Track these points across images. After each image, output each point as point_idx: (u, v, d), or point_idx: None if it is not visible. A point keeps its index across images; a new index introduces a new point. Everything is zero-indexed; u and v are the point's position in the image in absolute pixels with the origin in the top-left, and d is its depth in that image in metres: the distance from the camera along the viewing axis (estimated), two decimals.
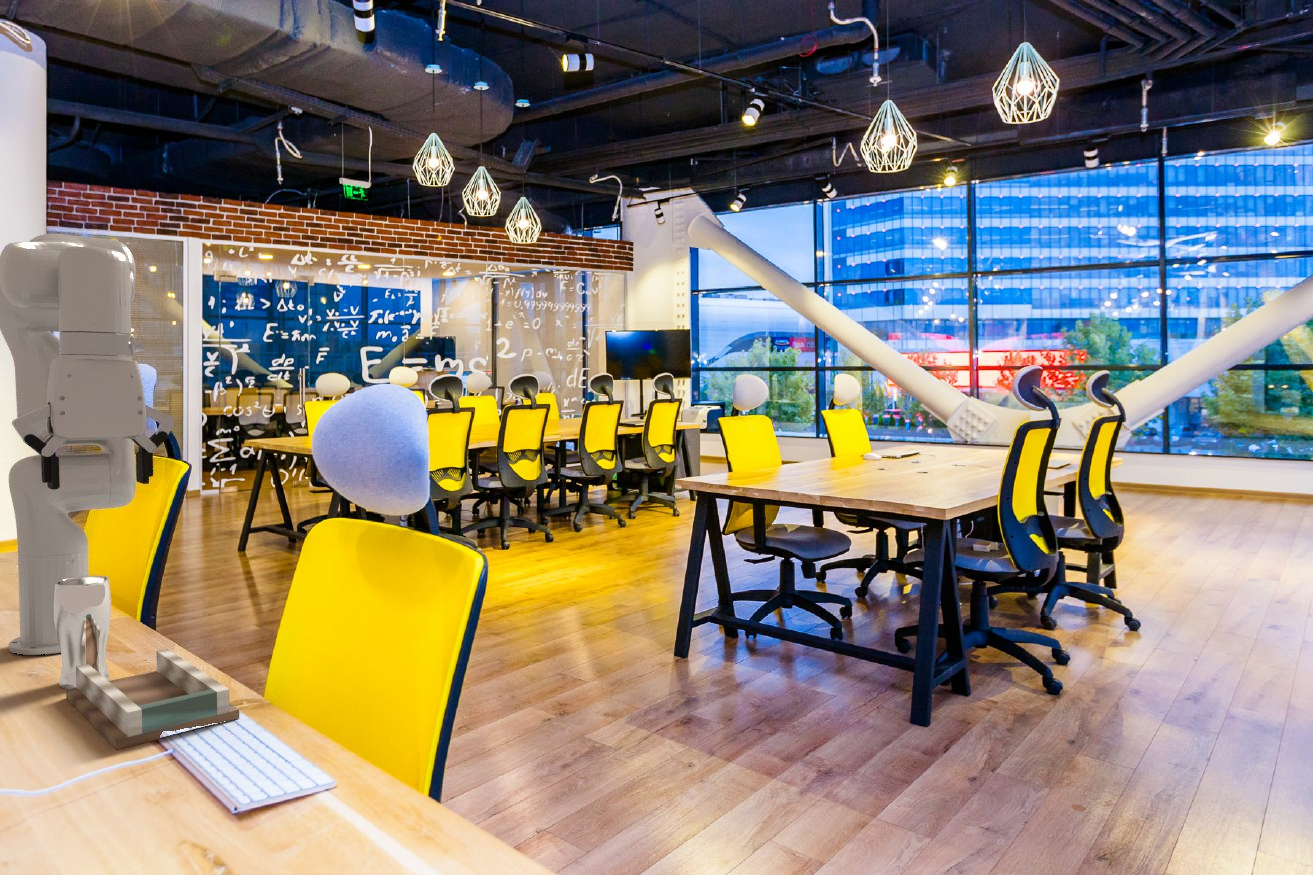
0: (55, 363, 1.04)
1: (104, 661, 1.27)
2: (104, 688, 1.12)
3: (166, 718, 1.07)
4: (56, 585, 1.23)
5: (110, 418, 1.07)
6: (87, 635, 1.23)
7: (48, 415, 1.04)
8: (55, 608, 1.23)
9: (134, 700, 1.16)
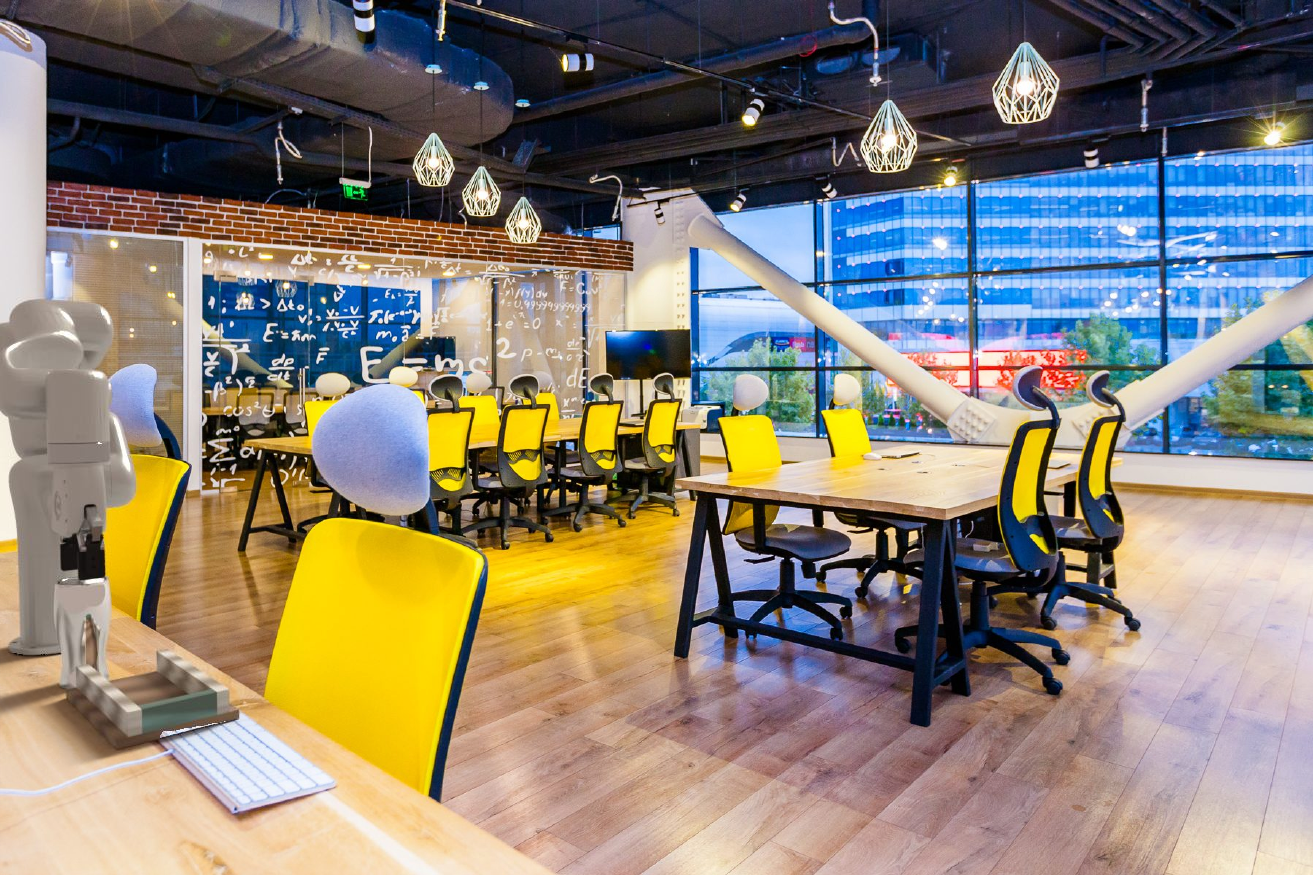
0: (93, 470, 1.22)
1: (104, 661, 1.27)
2: (104, 688, 1.12)
3: (166, 718, 1.07)
4: (56, 585, 1.23)
5: None
6: (87, 635, 1.23)
7: None
8: (55, 608, 1.23)
9: (134, 700, 1.16)
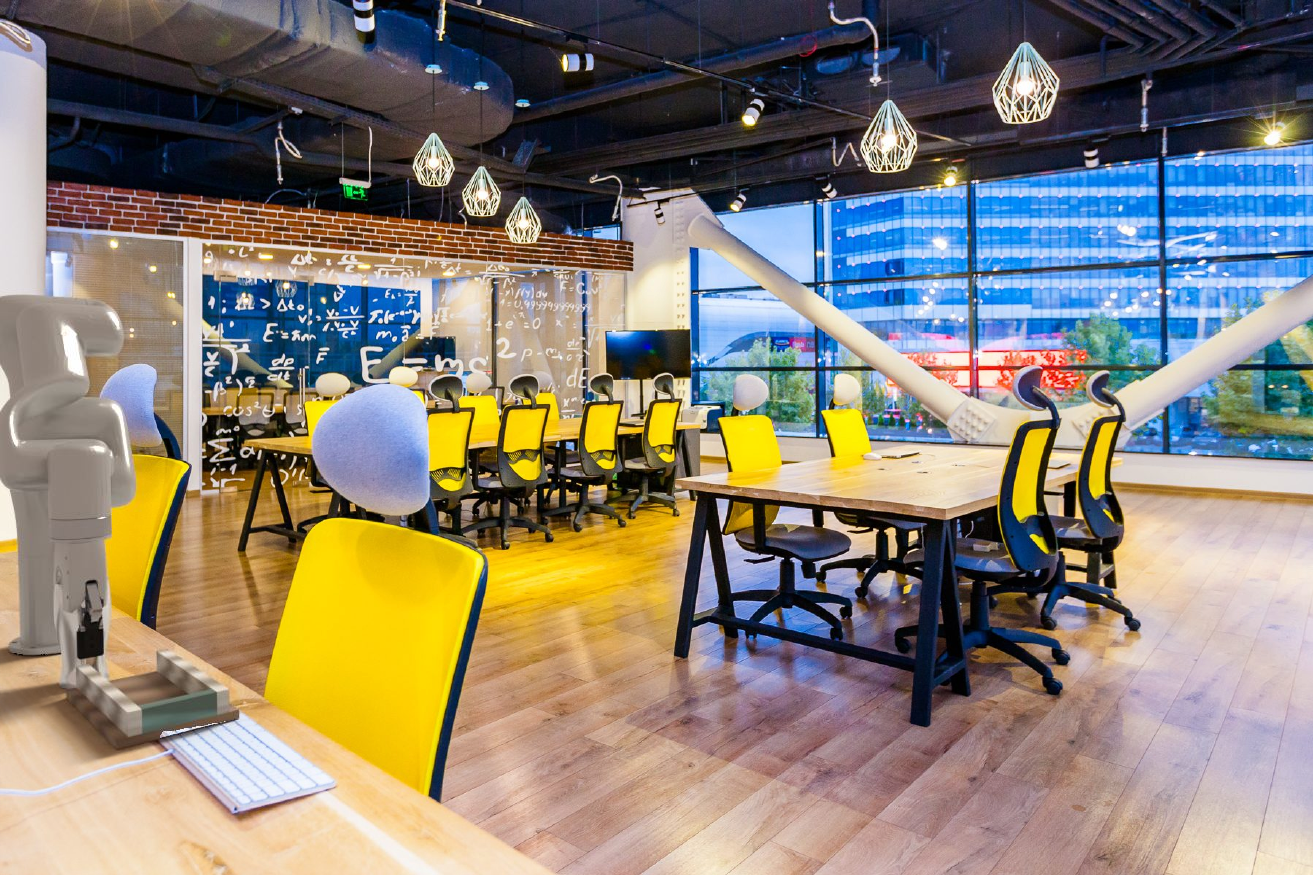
0: (95, 546, 1.22)
1: (104, 661, 1.27)
2: (104, 688, 1.12)
3: (166, 718, 1.07)
4: (56, 585, 1.23)
5: None
6: None
7: None
8: (55, 608, 1.23)
9: (134, 700, 1.16)
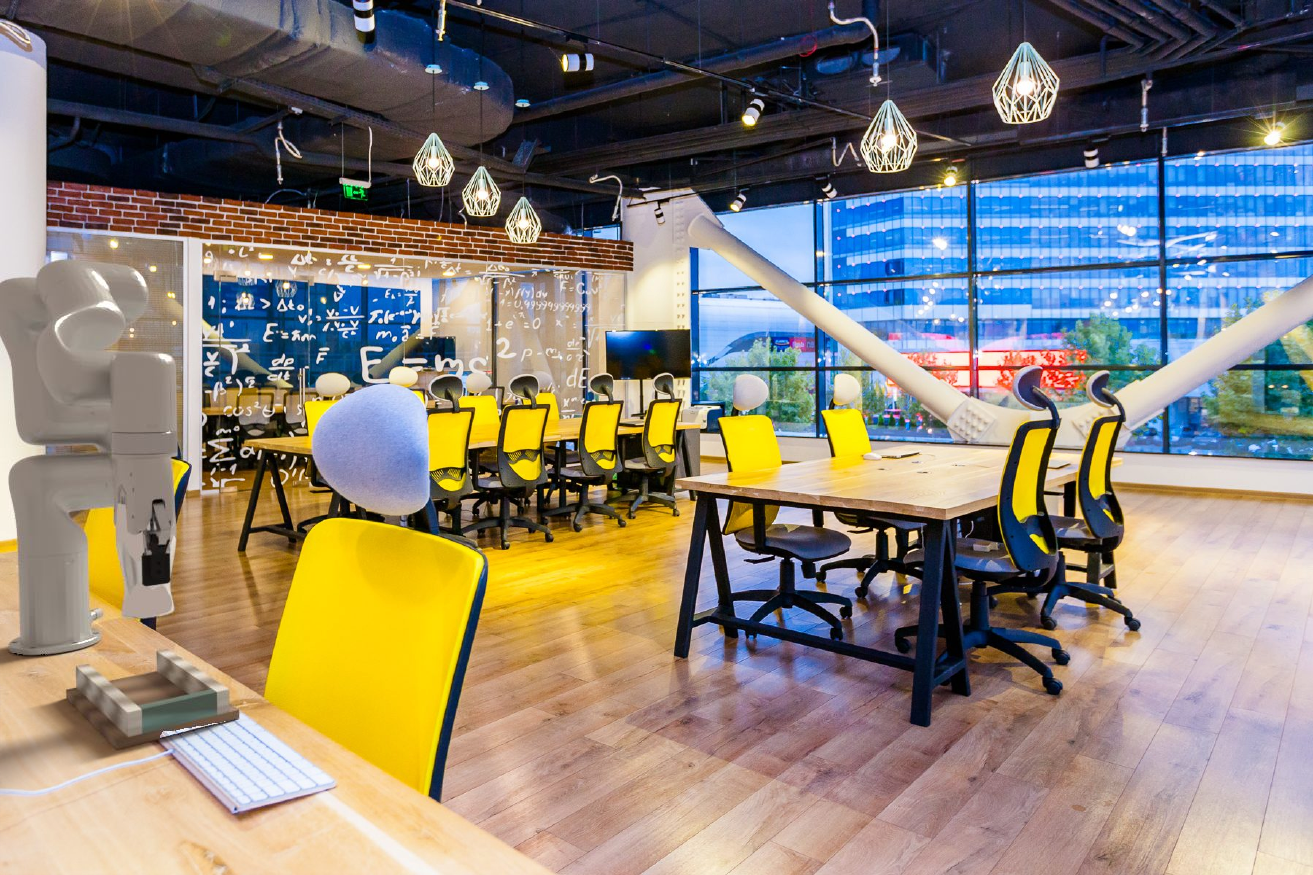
0: (161, 462, 1.12)
1: (169, 590, 1.16)
2: (104, 688, 1.12)
3: (166, 718, 1.07)
4: (119, 505, 1.12)
5: None
6: None
7: None
8: (118, 530, 1.12)
9: (134, 700, 1.16)
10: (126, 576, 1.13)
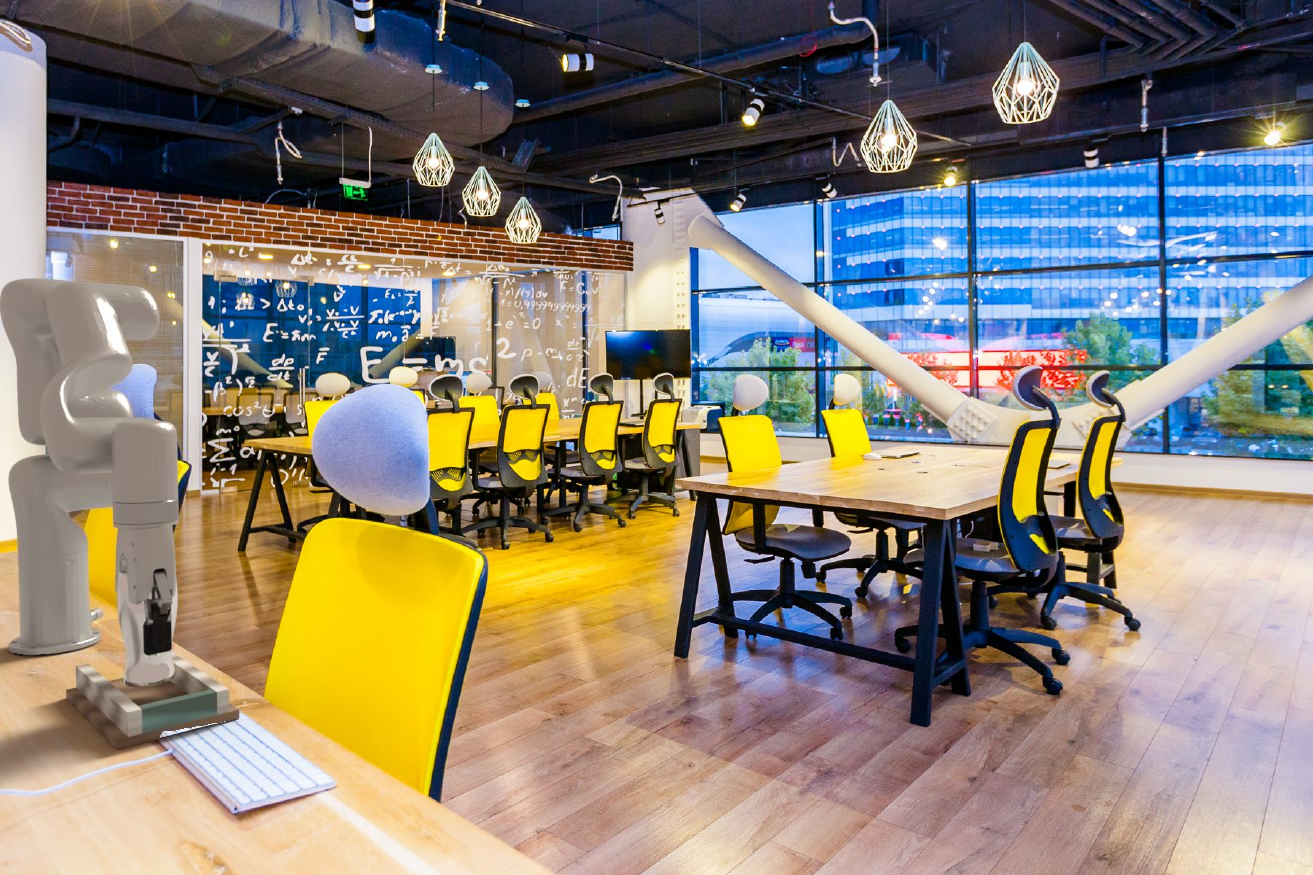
0: (163, 532, 1.12)
1: (170, 657, 1.17)
2: (104, 688, 1.12)
3: (166, 718, 1.07)
4: (120, 574, 1.13)
5: None
6: None
7: None
8: (119, 599, 1.13)
9: (134, 700, 1.16)
10: (128, 644, 1.13)
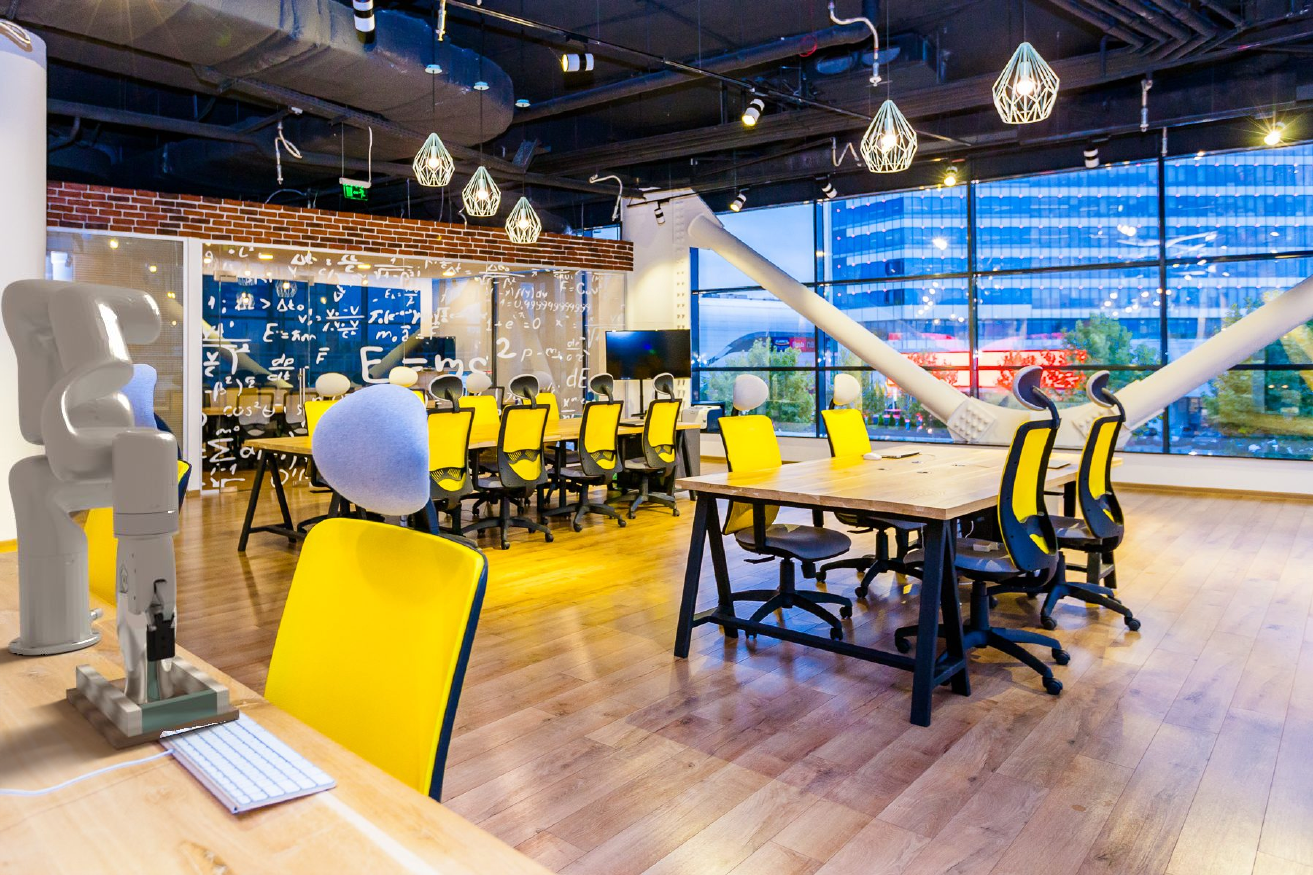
0: (163, 542, 1.13)
1: (170, 675, 1.17)
2: (104, 688, 1.12)
3: (166, 718, 1.07)
4: (120, 594, 1.13)
5: None
6: None
7: None
8: (119, 619, 1.13)
9: None
10: (127, 664, 1.14)
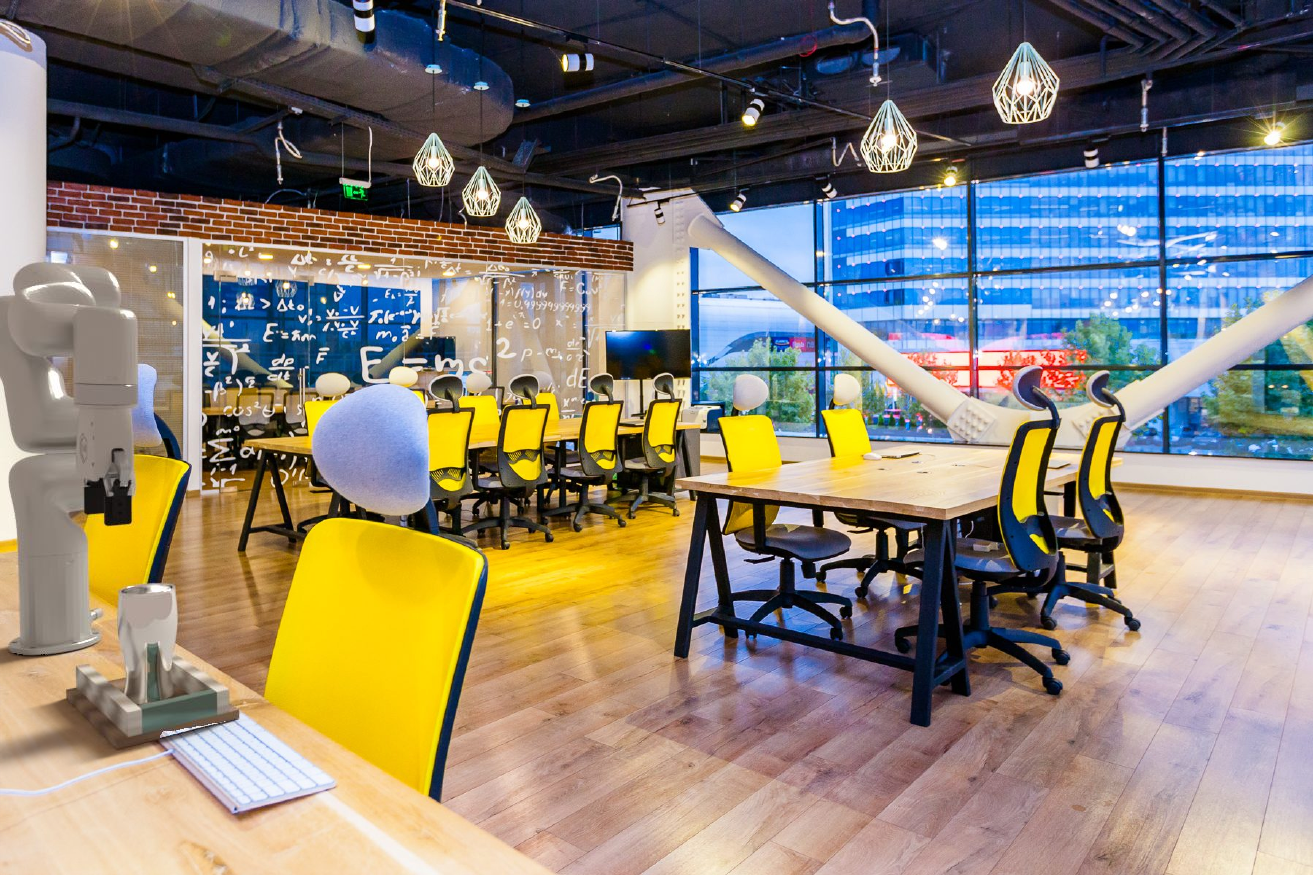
0: (121, 413, 1.17)
1: (170, 676, 1.17)
2: (104, 688, 1.12)
3: (166, 718, 1.07)
4: (121, 594, 1.13)
5: None
6: (153, 648, 1.14)
7: None
8: (119, 619, 1.13)
9: None
10: (128, 664, 1.14)
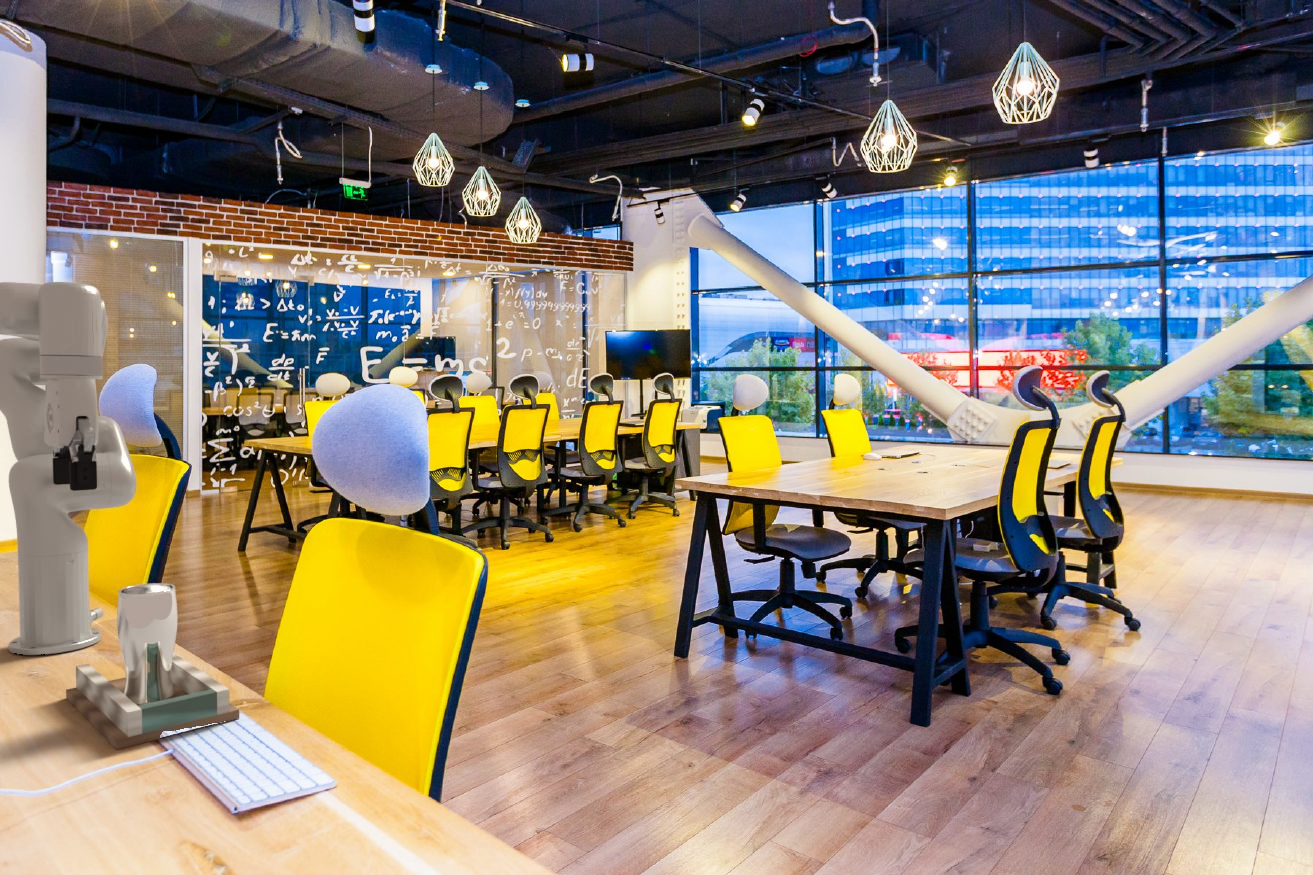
0: (85, 383, 1.23)
1: (170, 676, 1.17)
2: (104, 688, 1.12)
3: (166, 718, 1.07)
4: (121, 594, 1.13)
5: None
6: (153, 648, 1.14)
7: None
8: (119, 619, 1.13)
9: None
10: (127, 664, 1.14)
